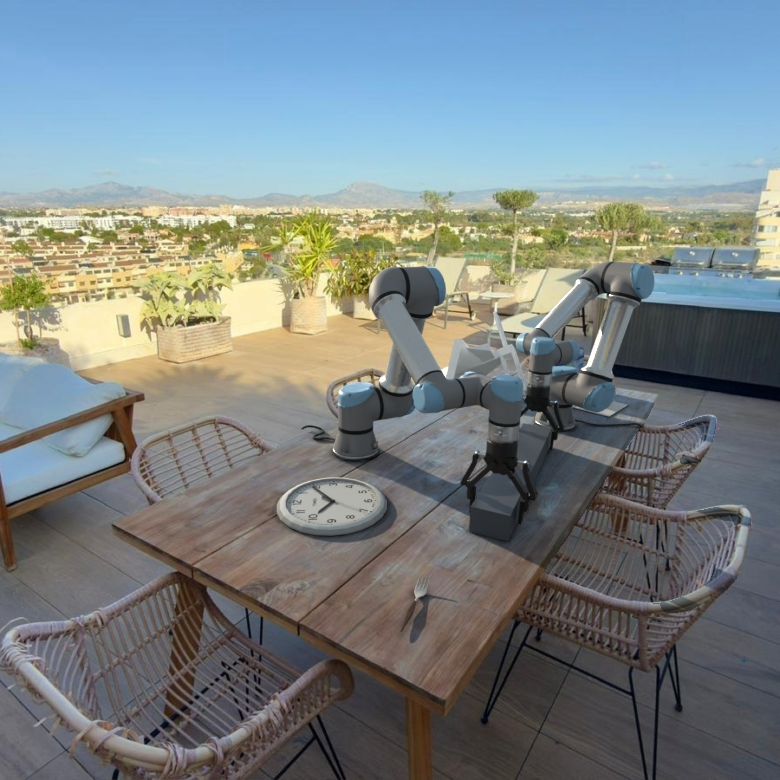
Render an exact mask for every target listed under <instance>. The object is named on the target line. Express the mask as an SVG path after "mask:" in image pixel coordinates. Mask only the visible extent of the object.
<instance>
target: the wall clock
mask: <svg viewBox="0 0 780 780" xmlns="http://www.w3.org/2000/svg"><path fill="white" fill-rule="evenodd" d="M387 509H388V500H387V498H386V496H385V494H384V493H383V492H382V491H381V490H380V489H379V488H377V487H376V486H374V485H372V484H371V483H369V482H365V481H362V480H359V479H355V478H349V477H338V476H337V477H335V476H333V477H332V476H331V477H322V478H317V479H312V480H307V481H305V482H302V483H299V484H297V485H295V486H293V487H292V488H290V489H288V490H287V491H286V492H285V493H284V494H283V495H281V496H280V498H279V499H278V502H277V503H276V515H277V517H278V518H279V520H280V521H281V522H282V523H283V524H285V525H286V526H287V527H288V528H290V529H293V530H295V531H297V532H299V533H303V534H308V535H312V536H327V537H328V536H329V537H331V536H332V537H333V536H342V535H350V534H352V533H356V532H361V531H363V530H366V529H368V528H369V527H372V526H373V525H375V524H376V523H378V522H379V521H380V520H381V519H382V518H383V517H384V516H385V514H386V512H387Z"/></svg>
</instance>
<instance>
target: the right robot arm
mask: <svg viewBox="0 0 780 780" xmlns="http://www.w3.org/2000/svg"><path fill="white" fill-rule="evenodd" d="M654 288H655V275H654V271H653V269H652V268H651V267H650V266H649V265H648V264H645V263H639V262H624V261H623V262H622V261H614V260H613V261H611V260H609V261H604V262H601V263H598V264H596V265H594V266H592V267H591V268H589V269H588V270H587V271H585V272H584V273H582V275H580V276H579V277H578V278H577V279H576V281H574V284H573V287H572V289H570V291H569V292H568V293H567V294H566V295H565V296H564V297H563V298H562V299H561V300H560V301H559V302H558V303H557V304H556V305H555V306H554V307H553V309H552V310H551V311H550V312H548V314H546V316H545V317H544V318H543V319H542V320H541V321H540V322H539V323H538V324H537V325H536V326H535V327H534V328H533V329H532V330H531V332H522V333H520V334H519V335H518V336H517V338H516V341H515V349H516V351H518V353H521V354H523V355H525V356H529V364H528V372H527V379H526V380H527V381H526V384H527V391H526V394H525V396H523V400H522V402H524V404H525V405H526V406H525V407H524V408H522V409H521V417H520V419H521V418H522V417H523V416H524V415H525V414H526V413H528V411H530V412H536V413H535V417H534V425H536V426H542V427H549V428H552V432H551V441H550V447H549V450H551V451H553V448H554V442H555V441H558V437H559V432H567V431H572V430H574V429H575V428H576V423H580V424H584V425H588V426H593V427H619V426H621V427H625V426H626V427H627V426H629V427H630V426H638V427H639V428H641V429H644V426H643V424H642V425H641V424H640V423H637V422H630V423H629V422H628V423H592V422H587V421H584V420H580V419H576V418H575V417H576V416H575V413H574V407H576V406H577V407H580V408H583V409H585V410H588V411H593V412H601V411H604V410H605V409H606V408H608V407H609V406H610V404H611V403H612V401H614V400H615V398H616V397H615V396H616V392H617V391H616V389H617V388H616V386H615V384H614V383H613V382H614V377H613V375H612V370H613V368H614V365H615V362H616V360H617V356H618V354H619V351H620V348H621V346H622V342H623V339H624V338H625V337H624V336H625V334H626V332H627V329H628V325H629V323H630V321H631V317H632V314H633V312H634V309H635V308H637V307H639V306H640V305H641V303H642V301H643V300H645V299H648V298H650V296H651V295H652V293H653V292H654ZM603 294H604V295H605V294H606V296H605V298H606V300H607V302H608V303H607V306H606V308H605V311H604V315H603V317H602V320H601V323H600V326H599V329H598V331H597V334H596V337H595V340H594V343H593V346H592V349H591V352H590V354H589V358H588V360H587V363H586V365H585V366H583V368H581V369H580V372H579V374H577V368H575V367H570V366H555V367H553V365H559V364H565V363H570V362H573V361H575V360H577V359H578V357H579V355H580V348H579V347H580V345H579V344H578V342H576V341H575V340H572V339H569V340H568V339H565V340H560V339H555V338H556V337H557V336H558V335H559V334H560V333H561V332H562V331H563V330H564V328H565V327H567V325H568V324H569V323H570V322H572V320H573V319H574V318H575V317H576V316H577V315H578V314H579V313H580V311H581V310H583V308H584V307H585V306H586V305H587V304H588V303H589V302H590V301H594V300H596V299H597V297H599V296H600V295H603ZM573 406H574V407H573ZM588 411H587V412H588Z"/></svg>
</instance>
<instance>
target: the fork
mask: <svg viewBox="0 0 780 780" xmlns="http://www.w3.org/2000/svg"><path fill="white" fill-rule="evenodd" d="M420 577H421V573H420V574H419V576H418V579H417V583H416V585H415V586H414V591H413V594H414V595H415V599H414V600H413V602H412V603H411V605H409V608H408V609H407V610H406V613H405V617H404V620H403V623H402V625H401V629H400V633H402V632H403V631H404V629H405V627H406V625H408V622H409V621H410V619H411V618H412V616H413V614H414V611H415V608H416V605H417V601H418V599H419V598H422V597H425V596H426V595H427V593H428V589H429V584H430V580H431V576H429V578H428V580H427V577H428V576H427V575H425V579H424V574H422V578H420ZM420 579H421V581H420ZM423 580H424V582H423ZM426 583H427V584H426Z"/></svg>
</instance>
